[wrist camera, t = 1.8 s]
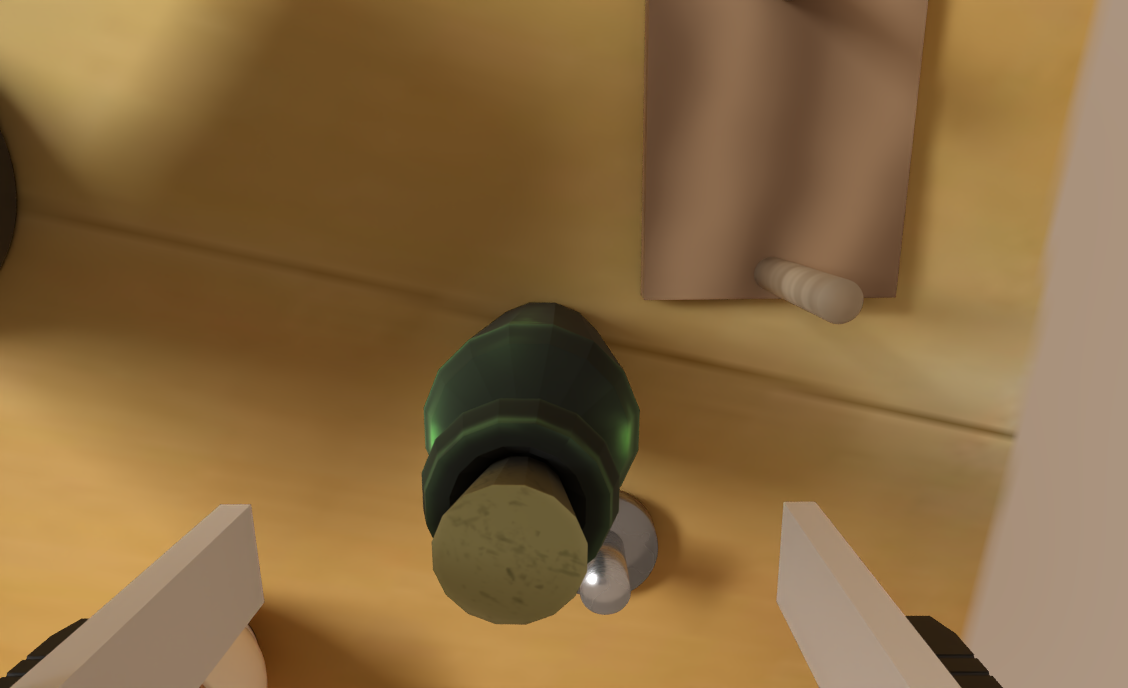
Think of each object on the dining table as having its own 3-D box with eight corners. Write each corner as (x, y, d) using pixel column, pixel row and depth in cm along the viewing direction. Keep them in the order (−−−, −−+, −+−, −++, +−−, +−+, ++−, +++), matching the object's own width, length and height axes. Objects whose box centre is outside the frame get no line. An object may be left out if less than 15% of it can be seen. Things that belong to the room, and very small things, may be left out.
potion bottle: (435, 382, 33) (282, 594, 16) (520, 253, 32) (455, 327, 14) (564, 464, 34) (555, 749, 17) (652, 342, 33) (747, 517, 15)
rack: (640, 295, 32) (668, 336, 23) (645, -37, 28) (681, -147, 19) (880, 292, 32) (1007, 333, 23) (915, -41, 28) (1081, -155, 19)
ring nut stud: (547, 585, 36) (543, 647, 31) (545, 487, 34) (541, 536, 30) (653, 585, 36) (666, 646, 31) (656, 487, 34) (670, 535, 30)
